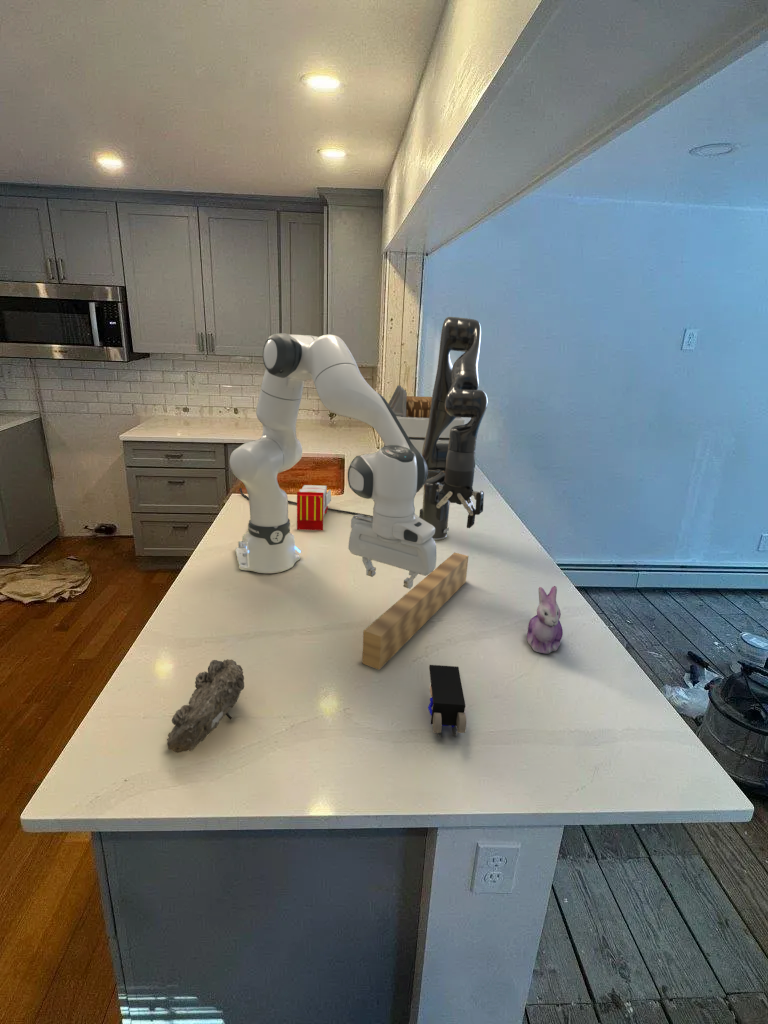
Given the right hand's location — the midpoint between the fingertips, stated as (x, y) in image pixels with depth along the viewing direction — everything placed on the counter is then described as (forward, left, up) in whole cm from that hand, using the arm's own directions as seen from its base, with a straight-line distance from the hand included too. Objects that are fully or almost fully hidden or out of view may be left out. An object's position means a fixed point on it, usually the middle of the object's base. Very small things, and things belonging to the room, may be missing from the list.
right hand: (454, 523), depth 154 cm
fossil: (-9, -75, -20) cm, 78 cm away
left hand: (+3, -36, -2) cm, 36 cm away
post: (+2, -18, -20) cm, 27 cm away
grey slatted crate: (-71, +98, -20) cm, 123 cm away
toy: (-68, +19, -20) cm, 74 cm away
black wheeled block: (+26, -47, -20) cm, 58 cm away
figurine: (+32, -9, -20) cm, 39 cm away
